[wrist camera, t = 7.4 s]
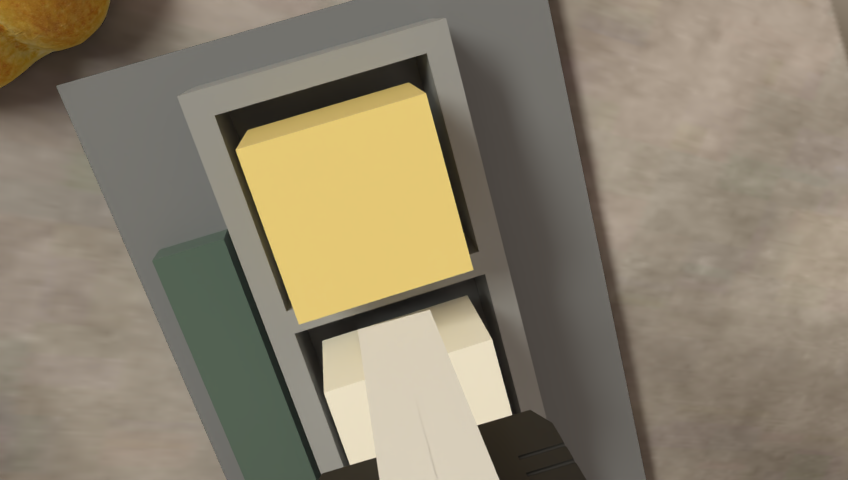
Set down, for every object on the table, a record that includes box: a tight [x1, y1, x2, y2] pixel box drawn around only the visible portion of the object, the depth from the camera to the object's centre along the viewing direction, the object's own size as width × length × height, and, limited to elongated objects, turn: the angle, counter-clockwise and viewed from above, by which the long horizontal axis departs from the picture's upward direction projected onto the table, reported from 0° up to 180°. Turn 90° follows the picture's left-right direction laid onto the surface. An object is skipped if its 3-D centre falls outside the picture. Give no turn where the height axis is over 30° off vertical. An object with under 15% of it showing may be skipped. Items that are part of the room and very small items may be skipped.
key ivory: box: [322, 295, 512, 465], centre depth 23 cm, size 5×5×4 cm
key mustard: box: [236, 82, 473, 325], centre depth 21 cm, size 5×5×4 cm
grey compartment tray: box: [56, 0, 646, 480], centre depth 27 cm, size 16×32×4 cm, turn 16°
